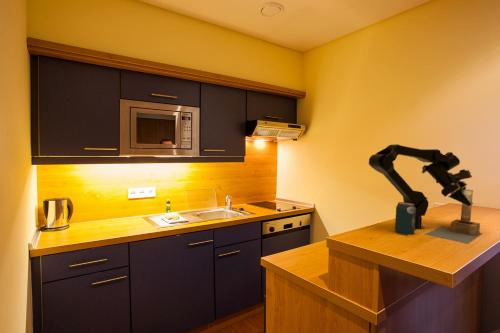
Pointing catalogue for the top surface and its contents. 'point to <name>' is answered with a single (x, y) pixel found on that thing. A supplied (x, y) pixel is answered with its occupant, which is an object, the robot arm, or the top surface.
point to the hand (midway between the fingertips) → (471, 204)
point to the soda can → (405, 218)
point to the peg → (465, 208)
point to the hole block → (465, 227)
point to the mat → (452, 235)
